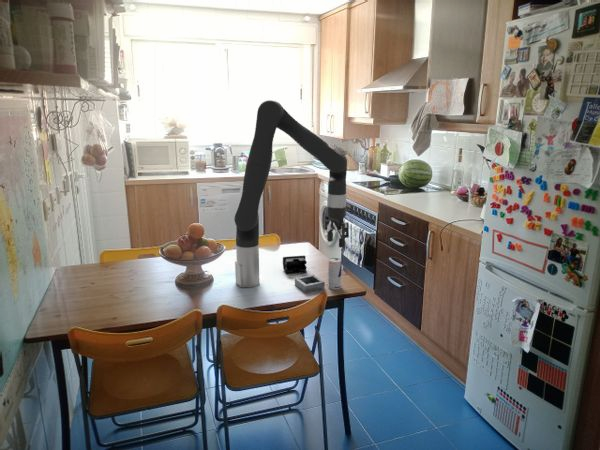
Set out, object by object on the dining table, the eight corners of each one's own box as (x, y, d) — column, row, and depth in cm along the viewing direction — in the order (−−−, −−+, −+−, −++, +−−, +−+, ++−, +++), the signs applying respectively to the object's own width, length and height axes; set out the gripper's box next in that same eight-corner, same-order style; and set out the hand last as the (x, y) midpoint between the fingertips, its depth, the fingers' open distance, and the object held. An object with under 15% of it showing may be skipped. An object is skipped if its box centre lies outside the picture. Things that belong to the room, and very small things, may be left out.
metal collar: (305, 293, 177) (305, 286, 177) (294, 285, 185) (294, 278, 184) (324, 288, 182) (324, 282, 181) (313, 281, 189) (313, 274, 188)
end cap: (303, 267, 205) (304, 253, 203) (307, 273, 199) (307, 258, 197) (282, 269, 203) (282, 255, 201) (285, 274, 197) (285, 260, 195)
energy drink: (343, 286, 184) (344, 259, 181) (337, 290, 180) (338, 263, 176) (331, 283, 187) (332, 256, 183) (325, 288, 182) (326, 260, 179)
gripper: (319, 202, 178) (318, 240, 183) (338, 209, 166) (337, 250, 170) (335, 200, 182) (334, 238, 186) (355, 207, 170) (353, 247, 174)
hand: (335, 244), depth 178 cm, fingers open, 8 cm apart
